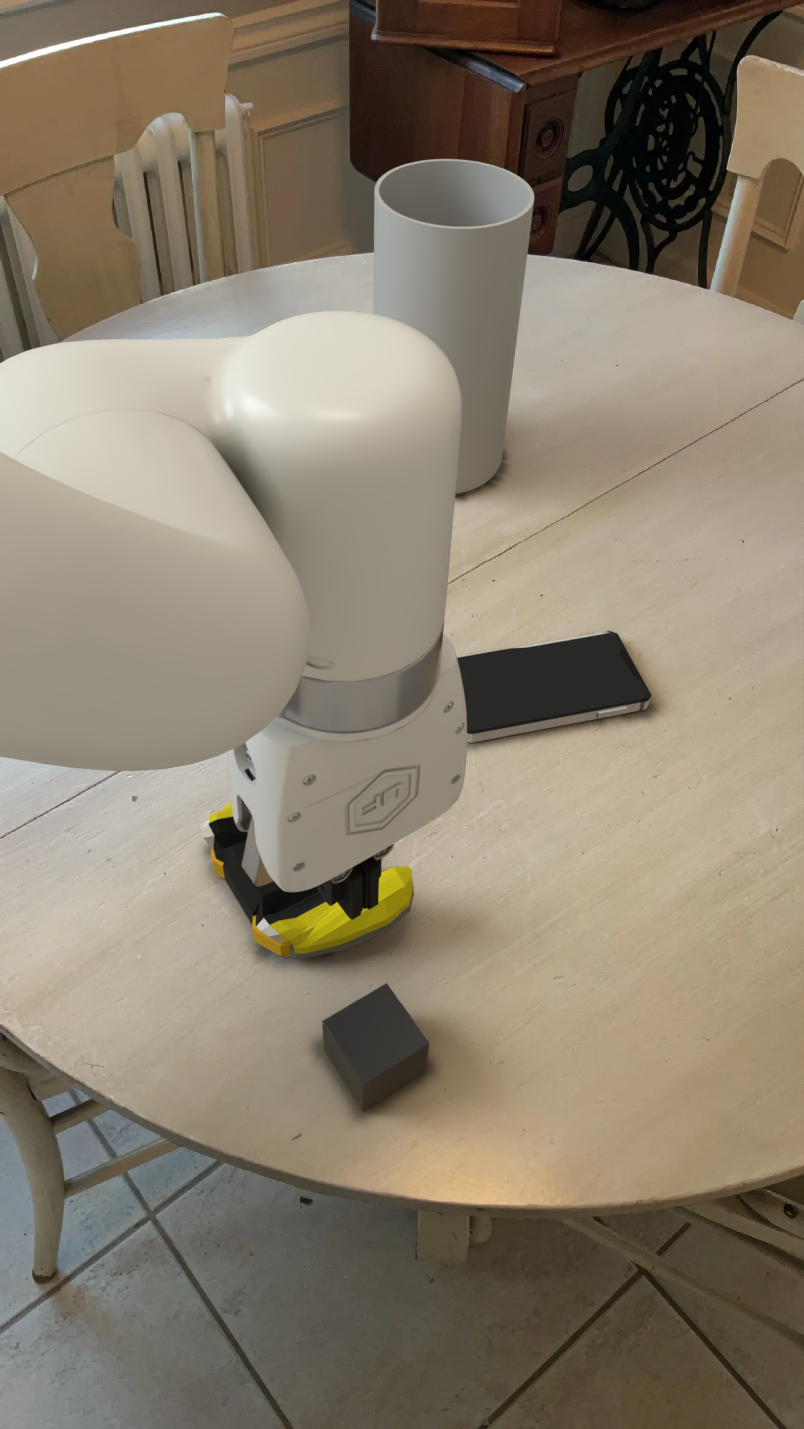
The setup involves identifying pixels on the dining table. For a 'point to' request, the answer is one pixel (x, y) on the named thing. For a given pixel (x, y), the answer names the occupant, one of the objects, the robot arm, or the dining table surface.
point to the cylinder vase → (458, 283)
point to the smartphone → (549, 685)
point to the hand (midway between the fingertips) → (348, 892)
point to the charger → (375, 1046)
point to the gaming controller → (301, 901)
